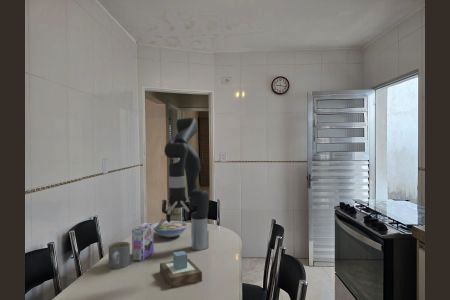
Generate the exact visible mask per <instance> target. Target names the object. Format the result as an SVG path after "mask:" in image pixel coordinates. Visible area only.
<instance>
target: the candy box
mask: <svg viewBox="0 0 450 300" xmlns="http://www.w3.org/2000/svg"><path fill="white" fill-rule="evenodd" d="M153 225H154V222H153V223H152V222H151V223H150V222H142V224H139V225H138V226H136V227H135V228H132V231H131V232H132V233H131V239H132V240H131V241H132V244H131V245H132V247H131V248H132V250H131V251H132V252H131V253H132V255H131V256H132V257H131V258H132V259H131V261H137V262H144V260H146V259H147V258H148V257H150V256H151V255H152V254H153V253H155V250H154V246H155V245H154V229H153Z"/></svg>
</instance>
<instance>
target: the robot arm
mask: <svg viewBox="0 0 450 300" xmlns="http://www.w3.org/2000/svg"><path fill="white" fill-rule="evenodd" d="M175 125H176V126H175V127H176V131H177V134H175V136H174V138H173V139H171V140H170V141H168V142H167V143H166V145H165V147H164V151H163V152H164V155H165V156H166V157H167V158H169V159H179V160H178V161H177V162H174V163H173V162H172V163H170V164H169V166H168V173H169V174H168V199H161V212H162V213H163V214H165V221H168V222H170V221H171V212H172V211H173V210H174V209H178V208H180V209H181V208H183V210H184V219H185V220H186V221H187V220H189V218H190V217H191V218H190V219H191V220H190V221H191V225H190V226H191V230H190V231H191V236H190V238H191V239H190V240H191V243H190V244H191V249H192V250H194V251H196V250H197V251H201V250H202V251H203V250H206V249H208V248H209V247H210V245H209V243H210V242H209V239H210V238H209V237H210V233H209V230H208V214H209V203H210V195H209V193H208V192H207V191H206V190H201V189H198V184H197V180H198V177H199V175H200V172H201V169H202V168H201V167H202V166H201V159H200V155H199V154H198V153H197V151H196V150H195V149H194V148H193V147H192V146H191V145H190V143H189V142H190V140H191V139H192V138H193V137H194V136H195V135H196V134H197V132H198V129H199V128H198V120H197V119H196V118H194V117H186V118H179V119H177V120H176V123H175ZM186 188H187V197H186ZM186 202H187V203H188V206H187V205H186ZM168 204H169V206H168V207H167V205H168ZM194 206H195V207H197V210H196V211H193V210H194ZM190 211H193V212H191V216H190Z"/></svg>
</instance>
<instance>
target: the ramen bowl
mask: <svg viewBox="0 0 450 300" xmlns="http://www.w3.org/2000/svg"><path fill="white" fill-rule="evenodd" d="M187 227H188V223H187V222H185V221H181V220H170V222H168V221H167V220H166V218H165V219H161V220H160V221H159V222H156V223H153V231H154V232H155V233H156V234H158V235H159V236H162V237H165V238H167V239H168V238H171V237H172V238H175V237H177V236H180V235H181V234H182V233H183V232H184V231H185V230H186V229H187Z"/></svg>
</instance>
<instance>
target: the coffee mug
mask: <svg viewBox="0 0 450 300" xmlns="http://www.w3.org/2000/svg"><path fill="white" fill-rule="evenodd" d="M130 246H131V245H130V242H128V241H116V242H112V243H110V244H109V245H108V268H109V269H113V270H118V269H119V270H120V269H123V268H124V269H125V268H127V267H129V266H130V264H131V256H130V255H131V247H130Z"/></svg>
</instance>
